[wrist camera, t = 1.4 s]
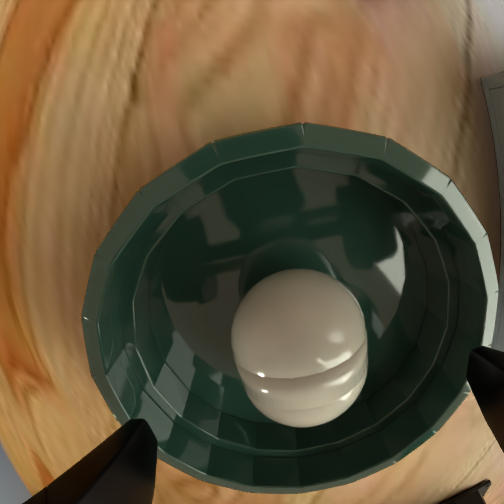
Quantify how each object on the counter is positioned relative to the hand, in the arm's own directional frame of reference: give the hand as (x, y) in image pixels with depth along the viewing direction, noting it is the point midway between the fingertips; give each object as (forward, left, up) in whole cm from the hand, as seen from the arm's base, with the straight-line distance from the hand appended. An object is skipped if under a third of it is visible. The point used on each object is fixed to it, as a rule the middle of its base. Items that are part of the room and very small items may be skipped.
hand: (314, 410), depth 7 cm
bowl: (0, 0, -5) cm, 5 cm away
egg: (0, 0, -5) cm, 5 cm away
